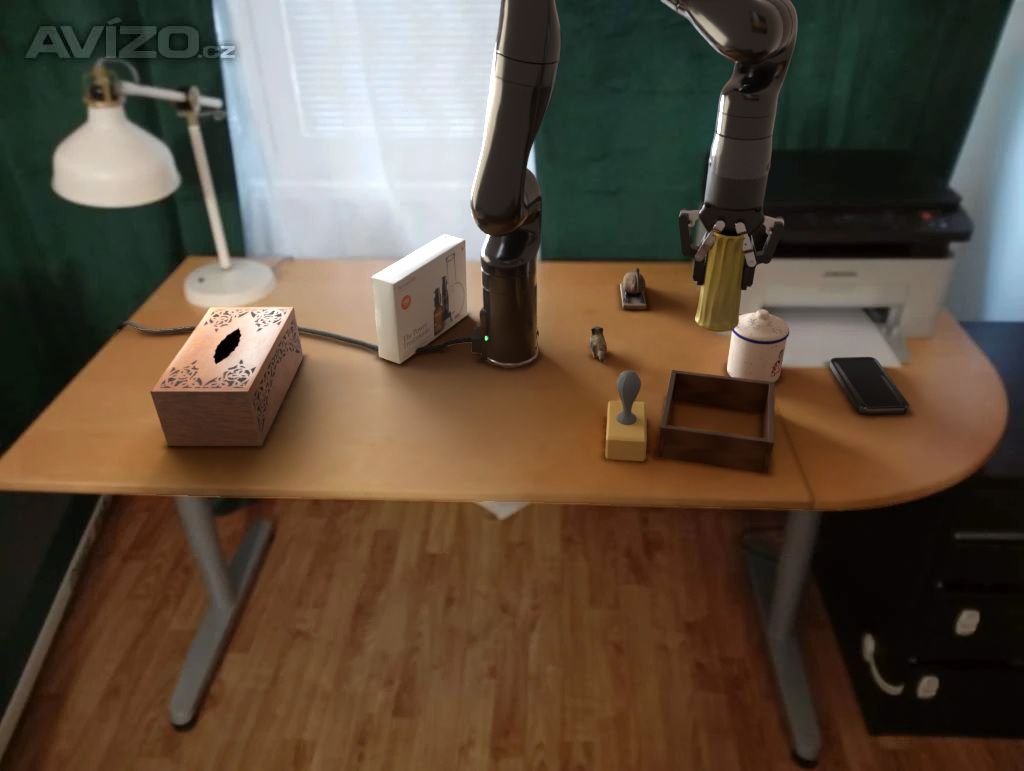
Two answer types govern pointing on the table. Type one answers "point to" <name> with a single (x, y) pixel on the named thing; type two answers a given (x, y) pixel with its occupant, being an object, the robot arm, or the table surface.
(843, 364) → the phone
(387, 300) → the skincare box
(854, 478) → the table surface
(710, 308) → the vase
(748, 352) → the teacup with lid
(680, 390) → the crate
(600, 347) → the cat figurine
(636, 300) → the figurine
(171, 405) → the tissue box cover
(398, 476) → the table surface
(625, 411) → the rubber stamp
